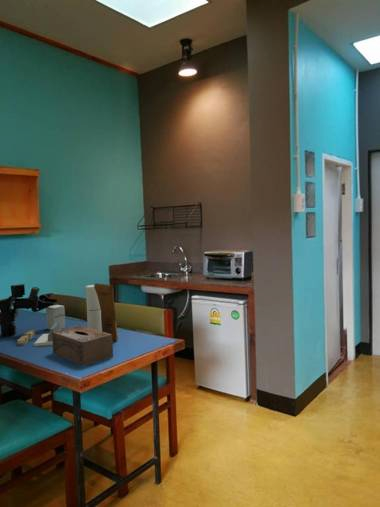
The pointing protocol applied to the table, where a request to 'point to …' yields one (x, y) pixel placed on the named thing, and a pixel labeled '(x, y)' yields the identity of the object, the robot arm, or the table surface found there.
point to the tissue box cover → (82, 344)
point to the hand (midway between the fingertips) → (55, 302)
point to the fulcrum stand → (47, 336)
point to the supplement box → (55, 316)
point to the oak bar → (26, 337)
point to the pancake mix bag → (107, 309)
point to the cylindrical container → (93, 309)
